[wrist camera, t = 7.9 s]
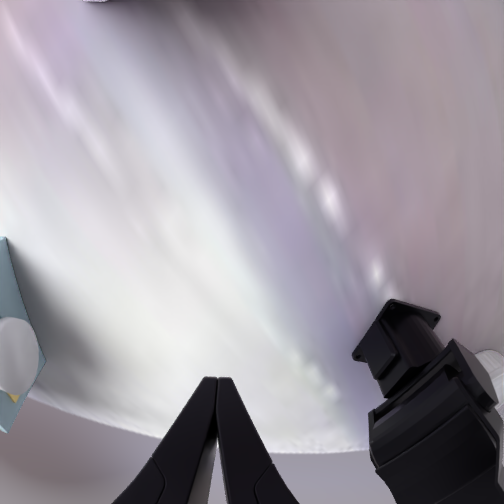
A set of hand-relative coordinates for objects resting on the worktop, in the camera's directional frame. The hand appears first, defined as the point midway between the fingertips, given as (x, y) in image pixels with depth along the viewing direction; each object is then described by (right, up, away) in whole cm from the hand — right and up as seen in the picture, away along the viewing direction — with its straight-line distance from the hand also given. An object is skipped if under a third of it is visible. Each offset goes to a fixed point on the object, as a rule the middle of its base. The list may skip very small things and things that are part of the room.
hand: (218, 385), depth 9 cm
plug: (-24, -2, +10) cm, 26 cm away
